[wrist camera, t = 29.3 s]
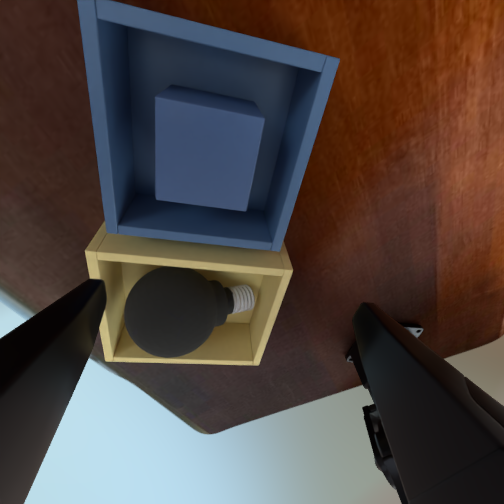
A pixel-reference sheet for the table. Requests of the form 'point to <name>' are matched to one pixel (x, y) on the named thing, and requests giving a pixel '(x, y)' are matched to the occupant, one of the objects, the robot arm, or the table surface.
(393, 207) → the table surface
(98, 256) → the cream bin
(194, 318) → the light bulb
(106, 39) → the blue bin
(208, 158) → the blue block
